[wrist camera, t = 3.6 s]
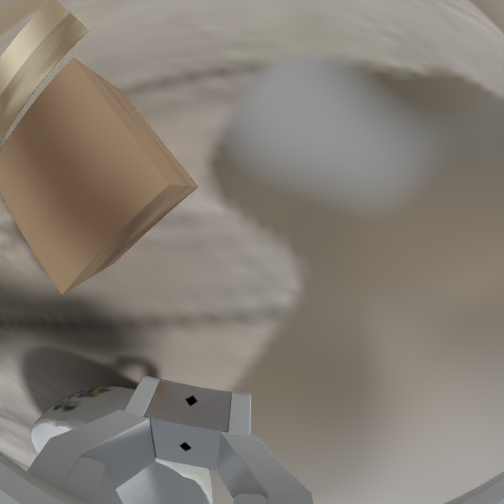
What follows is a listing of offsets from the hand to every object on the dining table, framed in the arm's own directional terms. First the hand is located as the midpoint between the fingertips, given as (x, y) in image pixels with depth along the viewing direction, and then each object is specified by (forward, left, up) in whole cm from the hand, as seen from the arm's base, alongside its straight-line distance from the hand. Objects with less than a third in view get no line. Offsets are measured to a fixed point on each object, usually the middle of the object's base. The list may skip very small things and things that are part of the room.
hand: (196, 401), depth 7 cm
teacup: (-11, -3, -10) cm, 15 cm away
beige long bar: (-3, +23, -10) cm, 25 cm away
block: (0, +10, -10) cm, 14 cm away
